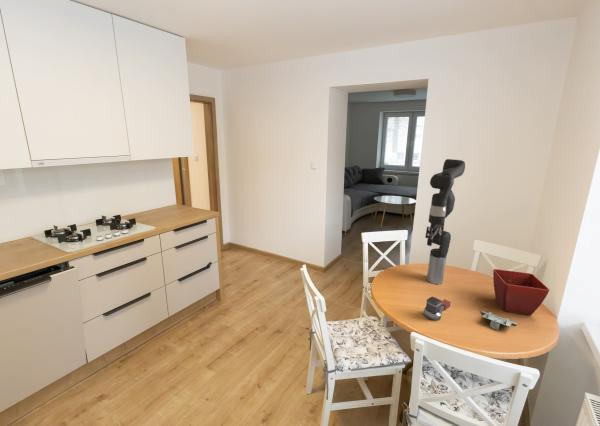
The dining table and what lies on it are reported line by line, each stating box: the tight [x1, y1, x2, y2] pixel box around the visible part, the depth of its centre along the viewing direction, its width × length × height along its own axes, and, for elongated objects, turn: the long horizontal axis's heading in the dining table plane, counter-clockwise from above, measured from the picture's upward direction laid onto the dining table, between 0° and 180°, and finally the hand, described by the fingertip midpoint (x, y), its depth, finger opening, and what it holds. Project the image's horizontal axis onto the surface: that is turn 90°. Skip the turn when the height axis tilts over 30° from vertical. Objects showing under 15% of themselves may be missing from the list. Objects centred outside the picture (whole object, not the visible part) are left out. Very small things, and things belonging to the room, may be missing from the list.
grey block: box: [425, 296, 443, 315], centre depth 148 cm, size 5×5×6 cm
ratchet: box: [423, 299, 452, 322], centre depth 153 cm, size 20×8×6 cm, turn 129°
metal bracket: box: [481, 310, 518, 331], centre depth 146 cm, size 14×6×15 cm
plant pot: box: [492, 268, 550, 316], centre depth 157 cm, size 19×19×17 cm
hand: (433, 243), depth 156 cm, fingers open, 8 cm apart
